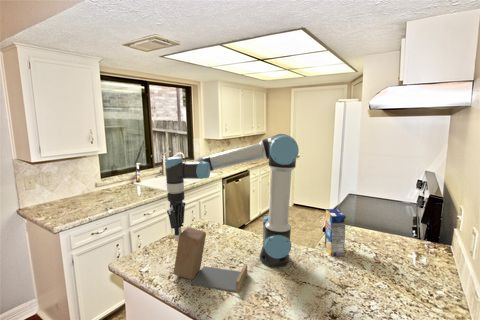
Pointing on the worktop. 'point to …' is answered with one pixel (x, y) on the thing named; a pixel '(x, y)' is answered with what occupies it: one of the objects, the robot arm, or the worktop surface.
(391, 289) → the worktop surface
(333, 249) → the beverage box
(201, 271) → the mat
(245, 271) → the stop rail
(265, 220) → the robot arm
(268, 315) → the worktop surface
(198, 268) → the wooden block
